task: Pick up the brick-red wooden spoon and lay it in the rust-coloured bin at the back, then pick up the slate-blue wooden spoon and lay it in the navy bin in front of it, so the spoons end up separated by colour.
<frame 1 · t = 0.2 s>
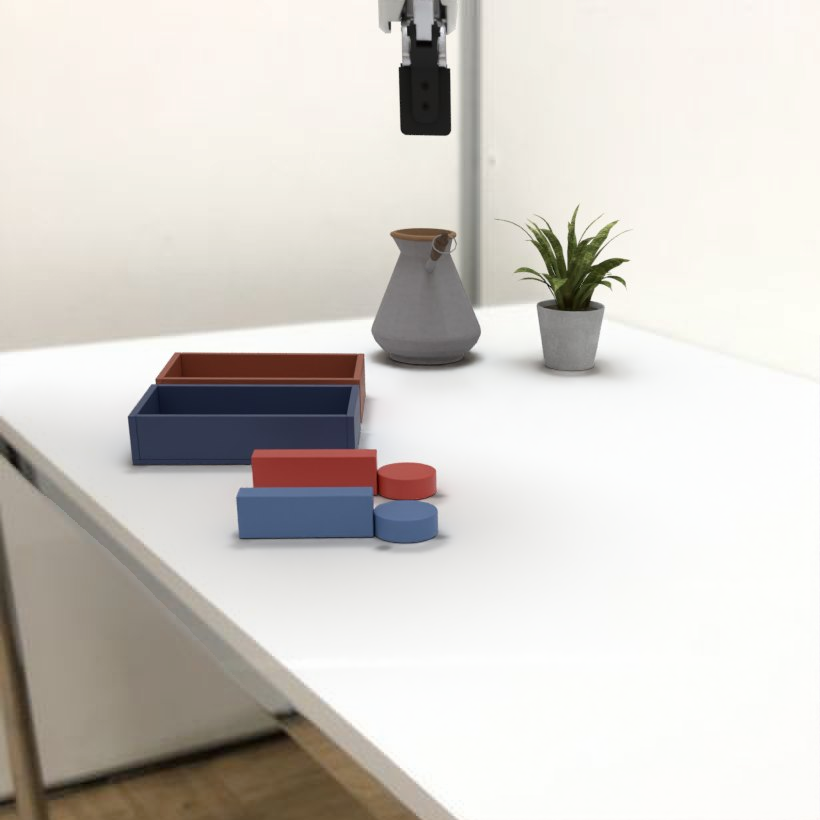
hand: (425, 129, 91), 26 cm above the table, tool pointing down, fingers open, 9 cm apart
house plant: (557, 367, 142), on the table
coffee pot: (432, 369, 139), on the table
blue bin: (252, 445, 112), on the table
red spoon: (343, 491, 102), on the table
red bin: (267, 408, 123), on the table
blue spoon: (337, 532, 94), on the table
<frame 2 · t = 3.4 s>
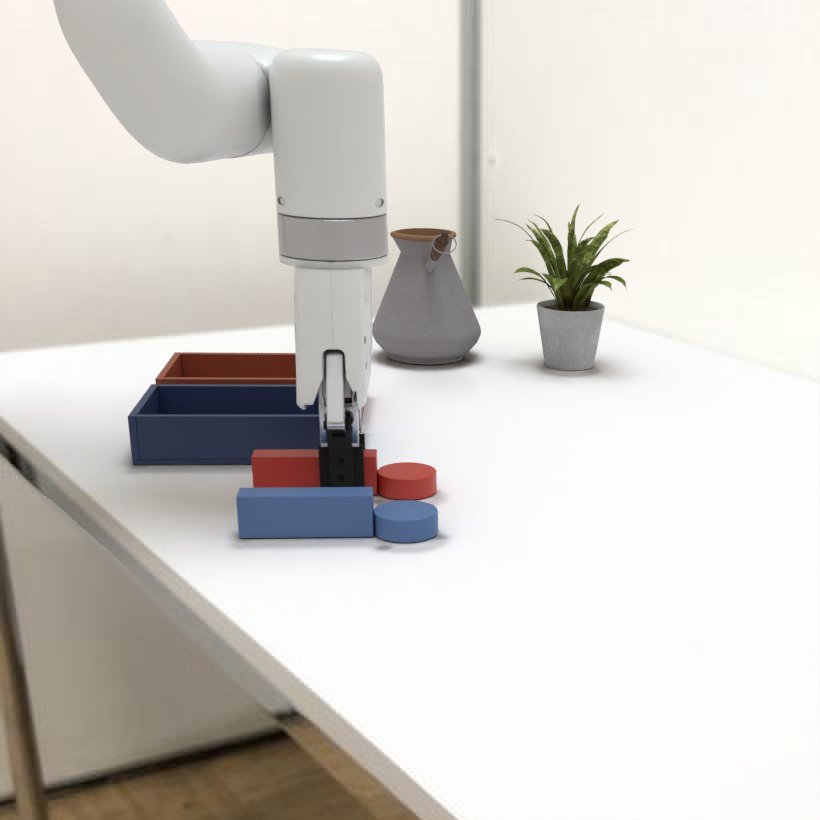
hand: (343, 489, 102), 0 cm above the table, tool pointing down, fingers closed on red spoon, 2 cm apart
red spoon: (343, 491, 102), on the table, touching gripper
everything else where it was.
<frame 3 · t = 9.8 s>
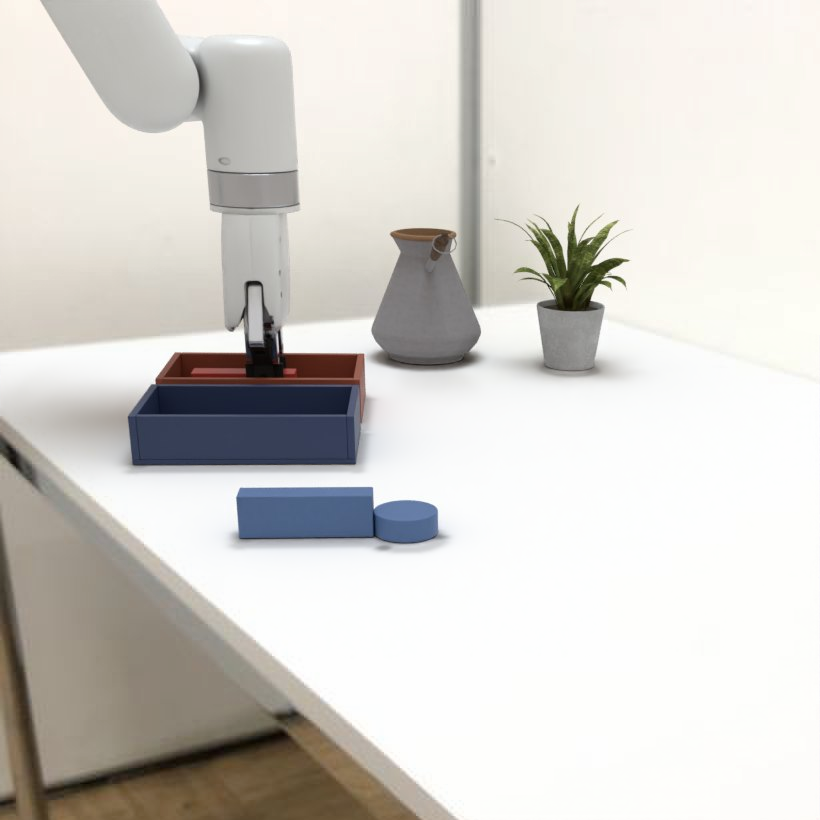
hand: (268, 402, 123), 1 cm above the table, tool pointing down, fingers closed, pressing on red bin, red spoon
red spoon: (269, 403, 123), resting on red bin, touching gripper
everything else where it was.
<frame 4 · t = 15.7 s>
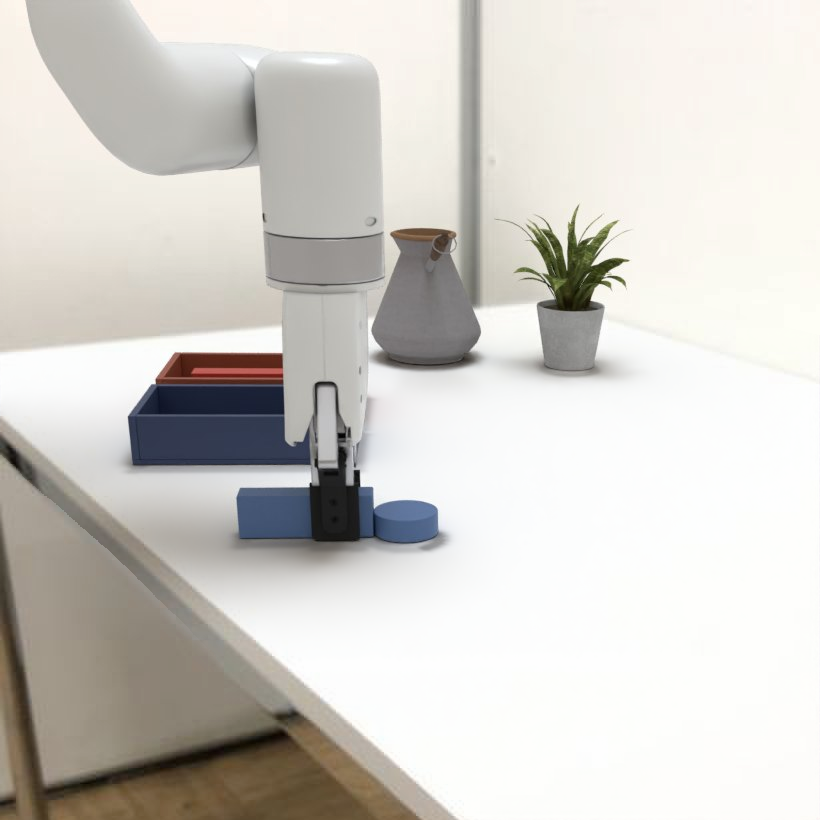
hand: (337, 530, 94), 0 cm above the table, tool pointing down, fingers closed on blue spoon, 2 cm apart
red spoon: (269, 403, 123), resting on red bin
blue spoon: (337, 532, 94), on the table, touching gripper
everything else where it was.
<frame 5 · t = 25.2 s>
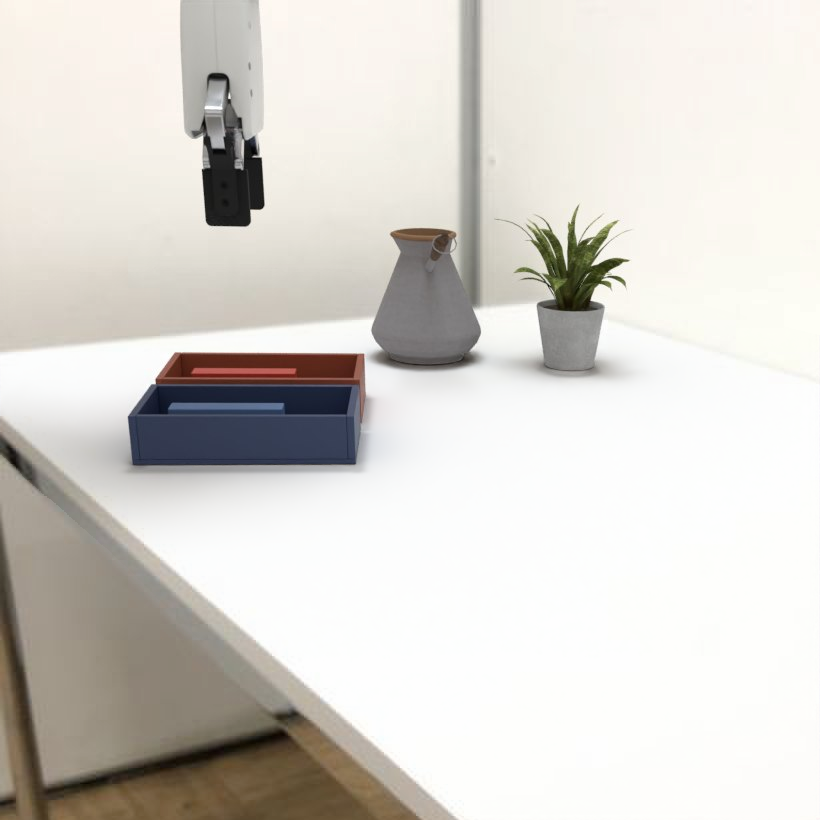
hand: (236, 217, 105), 18 cm above the table, tool pointing down, fingers open, 9 cm apart
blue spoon: (254, 441, 112), resting on blue bin
everything else where it was.
at the end: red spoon inside the target area in the red bin (0.2 cm from its centre), point 0.4 cm above the red bin's base; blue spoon inside the target area in the blue bin (0.2 cm from its centre), point 0.4 cm above the blue bin's base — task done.
